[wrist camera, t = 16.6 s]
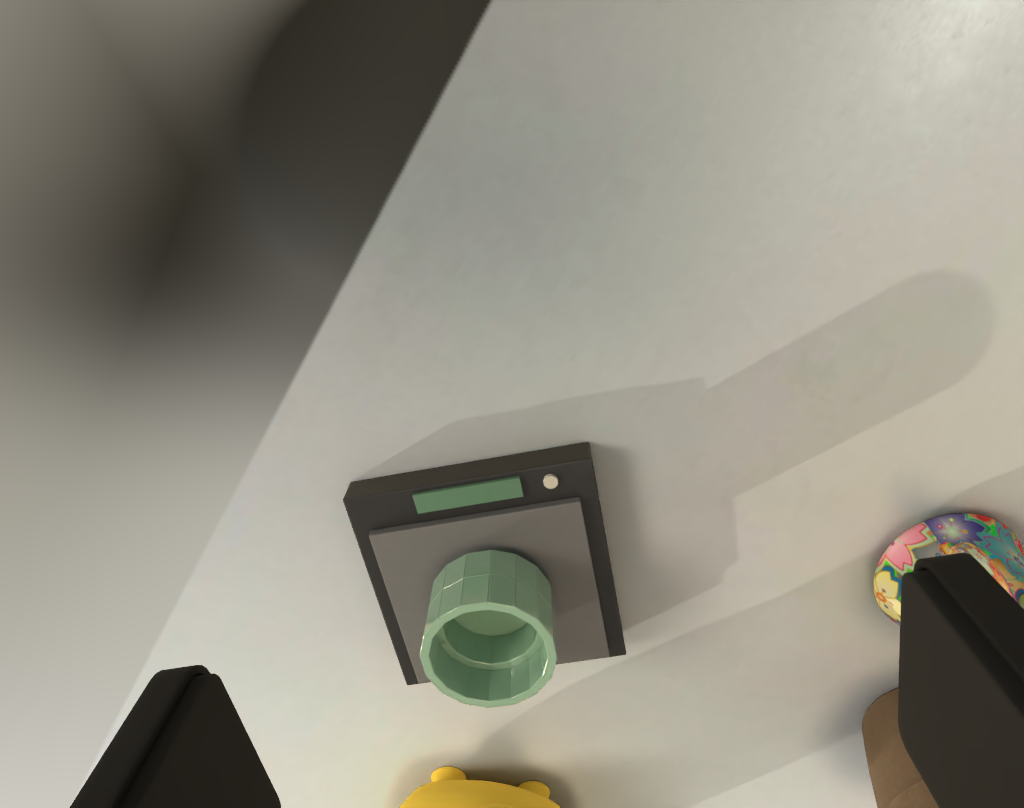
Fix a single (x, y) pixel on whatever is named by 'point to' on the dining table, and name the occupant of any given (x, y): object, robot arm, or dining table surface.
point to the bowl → (490, 630)
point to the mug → (946, 537)
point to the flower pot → (892, 759)
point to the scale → (490, 542)
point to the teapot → (476, 793)
